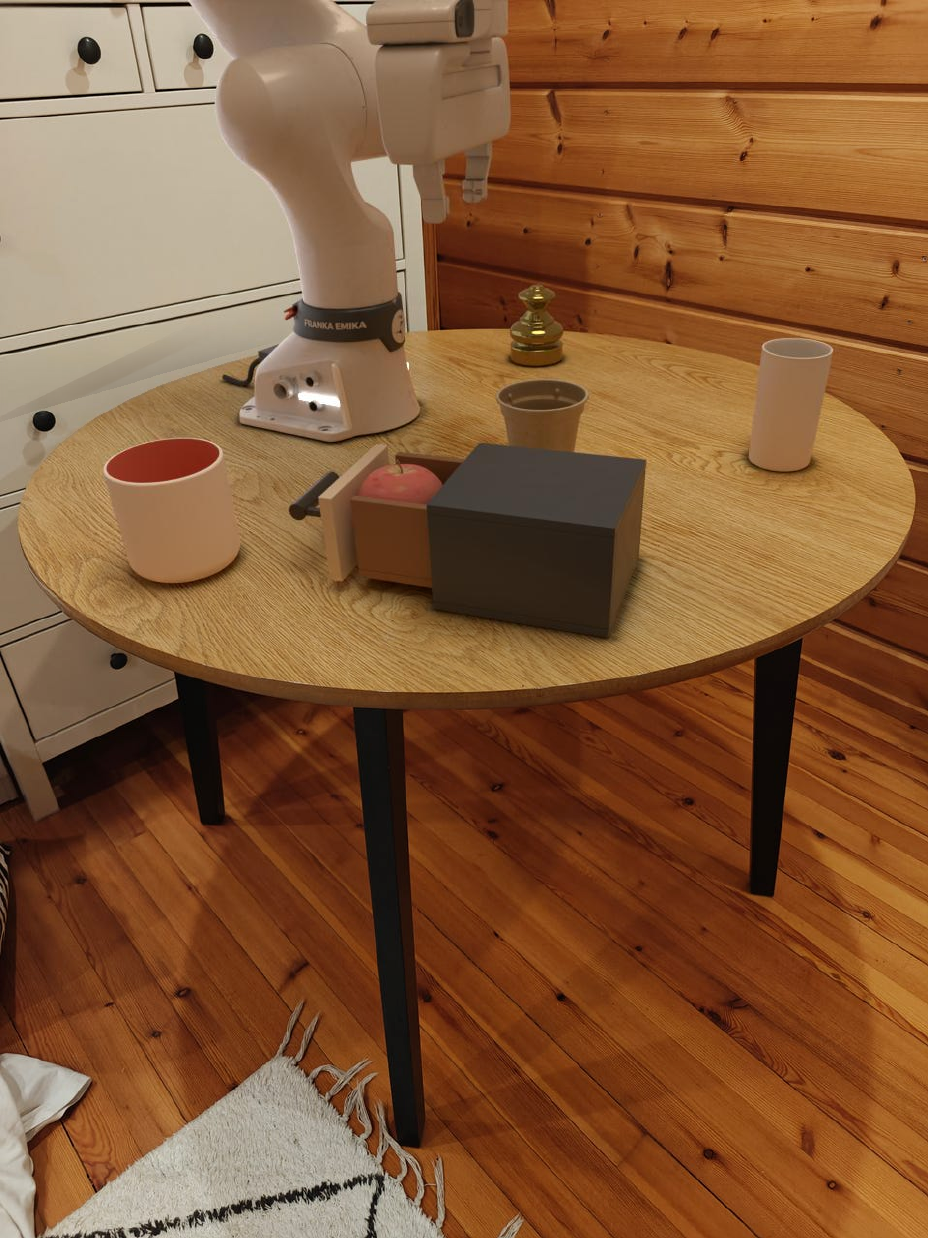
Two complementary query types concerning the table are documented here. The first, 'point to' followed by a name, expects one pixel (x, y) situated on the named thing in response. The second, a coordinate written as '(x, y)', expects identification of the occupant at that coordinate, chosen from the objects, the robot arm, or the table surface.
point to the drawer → (373, 521)
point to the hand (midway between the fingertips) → (457, 211)
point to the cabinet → (537, 537)
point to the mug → (788, 402)
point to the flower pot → (542, 413)
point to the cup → (174, 508)
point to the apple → (401, 484)
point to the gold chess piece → (536, 330)
